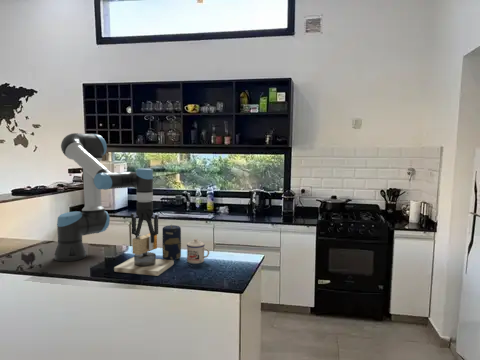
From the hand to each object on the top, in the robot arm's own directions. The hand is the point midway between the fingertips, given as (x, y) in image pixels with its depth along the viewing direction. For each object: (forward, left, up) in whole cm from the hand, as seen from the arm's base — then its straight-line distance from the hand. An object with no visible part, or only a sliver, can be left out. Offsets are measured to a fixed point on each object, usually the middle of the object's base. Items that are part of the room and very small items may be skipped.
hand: (145, 249), depth 182 cm
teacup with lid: (+21, +17, -9) cm, 29 cm away
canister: (+6, +18, -9) cm, 21 cm away
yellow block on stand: (0, 0, -7) cm, 7 cm away
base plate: (0, 0, -9) cm, 9 cm away
